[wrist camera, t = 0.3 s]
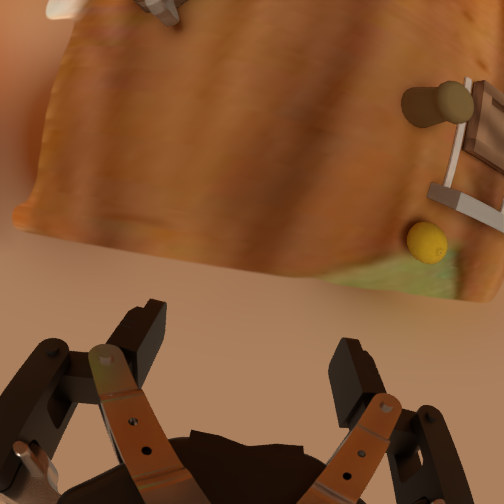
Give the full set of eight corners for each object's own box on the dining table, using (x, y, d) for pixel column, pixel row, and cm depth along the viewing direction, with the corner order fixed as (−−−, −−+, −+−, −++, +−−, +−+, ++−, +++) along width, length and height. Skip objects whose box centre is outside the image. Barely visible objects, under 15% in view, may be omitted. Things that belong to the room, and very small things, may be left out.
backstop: (454, 70, 31) (484, 62, 23) (529, 125, 31) (558, 128, 24) (426, 197, 38) (455, 209, 31) (504, 233, 39) (532, 248, 31)
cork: (442, 115, 34) (488, 113, 23) (416, 135, 35) (460, 137, 25) (420, 80, 32) (463, 67, 22) (393, 99, 34) (432, 89, 23)
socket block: (473, 81, 30) (484, 80, 28) (518, 115, 31) (529, 116, 28) (462, 149, 35) (473, 151, 32) (507, 177, 35) (518, 180, 32)
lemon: (391, 237, 41) (415, 257, 33) (414, 208, 39) (441, 222, 31) (414, 257, 41) (438, 280, 34) (435, 230, 40) (463, 247, 32)
